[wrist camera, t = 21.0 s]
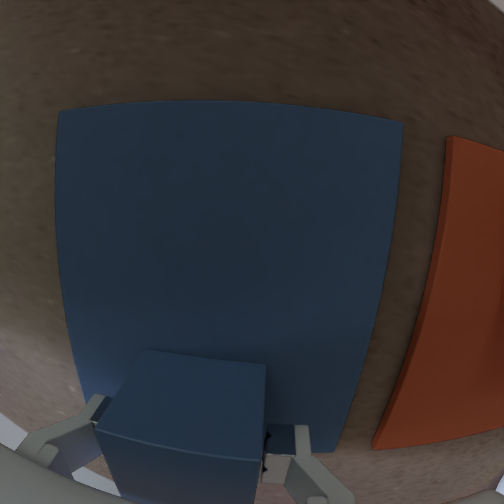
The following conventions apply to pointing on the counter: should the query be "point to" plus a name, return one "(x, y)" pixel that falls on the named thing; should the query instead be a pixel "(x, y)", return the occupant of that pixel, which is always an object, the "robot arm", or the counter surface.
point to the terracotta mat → (457, 313)
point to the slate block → (186, 430)
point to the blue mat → (227, 243)
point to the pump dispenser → (501, 486)
